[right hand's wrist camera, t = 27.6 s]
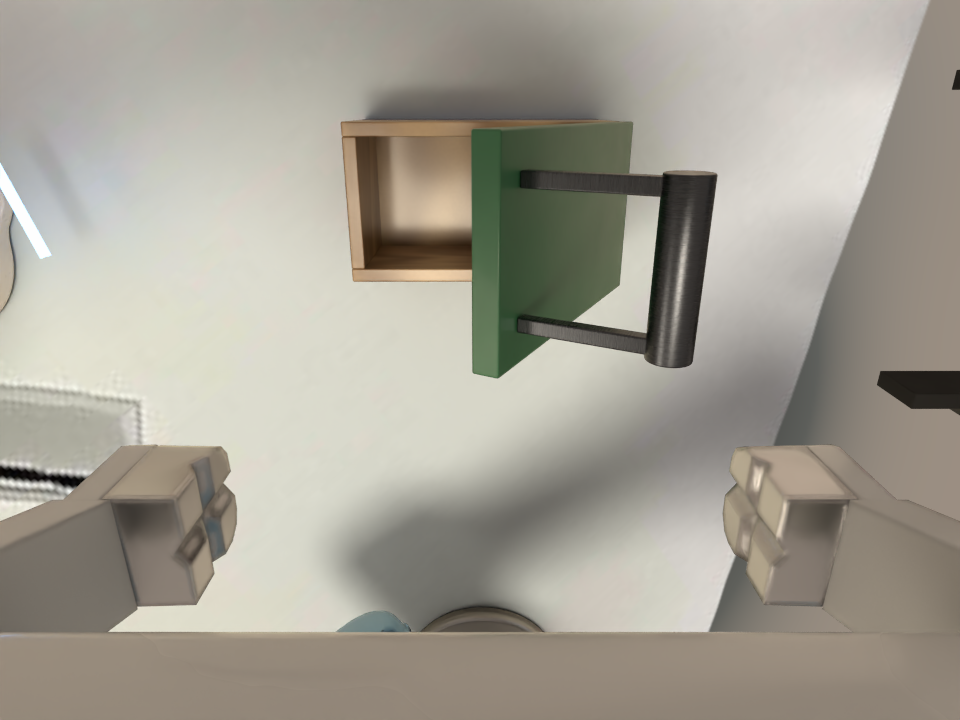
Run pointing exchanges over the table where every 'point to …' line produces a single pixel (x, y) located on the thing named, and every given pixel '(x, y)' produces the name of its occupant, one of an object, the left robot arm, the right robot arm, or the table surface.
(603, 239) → the lid
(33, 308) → the table surface
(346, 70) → the table surface
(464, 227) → the chest
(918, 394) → the left robot arm
